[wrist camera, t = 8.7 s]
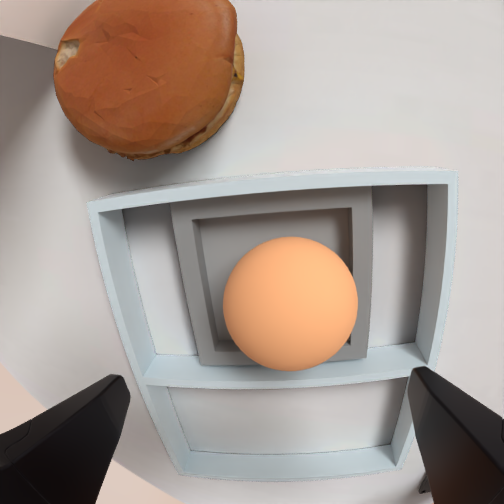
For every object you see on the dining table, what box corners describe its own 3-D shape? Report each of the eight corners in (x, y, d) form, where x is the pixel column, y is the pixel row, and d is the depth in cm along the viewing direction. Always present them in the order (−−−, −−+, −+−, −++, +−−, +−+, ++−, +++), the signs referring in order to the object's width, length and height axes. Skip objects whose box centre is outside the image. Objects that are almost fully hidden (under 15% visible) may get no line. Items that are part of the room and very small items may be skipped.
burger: (259, 140, 16) (247, 137, 11) (99, 169, 17) (48, 179, 12) (236, -23, 13) (219, -68, 8) (88, 22, 14) (42, 1, 10)
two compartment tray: (396, 447, 21) (401, 469, 19) (185, 453, 24) (178, 475, 21) (436, 166, 15) (458, 171, 12) (110, 194, 17) (86, 202, 15)
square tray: (361, 343, 18) (366, 357, 17) (206, 350, 20) (201, 365, 18) (364, 181, 15) (371, 184, 14) (179, 196, 17) (169, 201, 15)
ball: (331, 318, 18) (374, 380, 13) (228, 336, 18) (238, 410, 12) (329, 217, 17) (385, 250, 11) (212, 232, 16) (214, 275, 10)
